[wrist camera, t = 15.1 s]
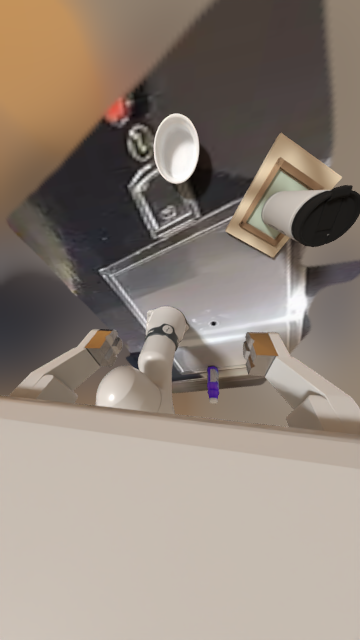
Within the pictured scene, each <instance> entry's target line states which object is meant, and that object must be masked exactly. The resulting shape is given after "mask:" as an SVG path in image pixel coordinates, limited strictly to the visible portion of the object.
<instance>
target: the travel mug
mask: <svg viewBox="0 0 360 640" xmlns="http://www.w3.org/2000/svg"><path fill="white" fill-rule="evenodd" d="M359 214H360V195H359V194H358V193H357V192H355V191H352V186H348V185H344V186H340V187H336V188H334V189H332V190H302V191H279V192H277V193H275V194H273V195H272V196H270V197H269V198H268V199H267V201H266V202H265V204H264V206H263V208H262V212H261V218H262V221H263V222H264V223H265V224H266V225H268V226H270V227H271V228H273V229H275V230H277V231H279V232H280V233H282V234H284V235H286V236H288V237H289V238H291V239H293V240H295V241H297V242H299V243H301V244H303V245H305V246H311V247H316V246H321V245H324V244H327V243H330V242H332V241H334V240H336V239H337V238H339V237H340V236H342V235H343V234H344V233H345V232H346V231H347V230H348V229H349V228H350V227H351V226H352V225H353V224H354V222H355V221H356V219H357V218H358V216H359Z"/></svg>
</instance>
